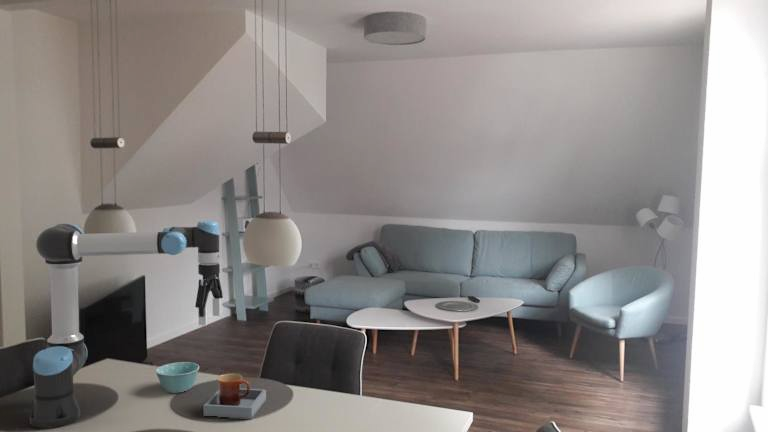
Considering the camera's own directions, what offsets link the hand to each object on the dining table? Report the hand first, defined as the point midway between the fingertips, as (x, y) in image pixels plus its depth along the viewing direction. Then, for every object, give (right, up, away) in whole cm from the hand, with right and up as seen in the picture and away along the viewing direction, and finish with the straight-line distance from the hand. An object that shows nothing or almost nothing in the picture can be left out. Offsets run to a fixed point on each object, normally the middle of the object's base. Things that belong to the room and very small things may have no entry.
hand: (209, 320), depth 235 cm
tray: (+12, -30, -8) cm, 33 cm away
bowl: (-15, -28, +9) cm, 33 cm away
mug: (+11, -29, -9) cm, 32 cm away
